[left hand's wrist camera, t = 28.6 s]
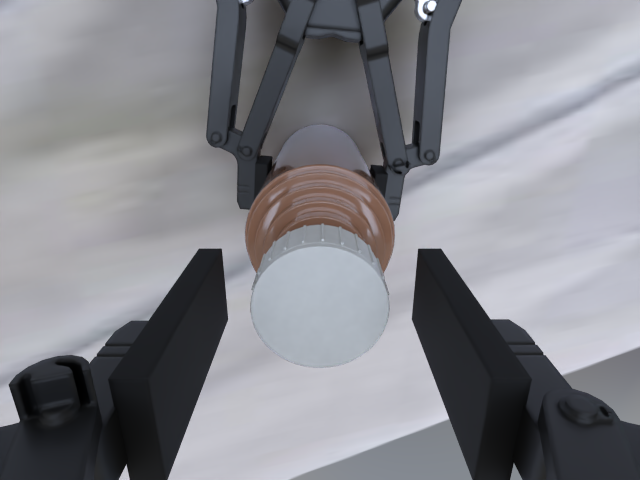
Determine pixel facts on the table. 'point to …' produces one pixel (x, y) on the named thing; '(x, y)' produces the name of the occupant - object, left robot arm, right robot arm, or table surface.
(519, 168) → the table surface
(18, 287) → the table surface
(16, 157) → the table surface
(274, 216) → the bottle
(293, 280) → the cap
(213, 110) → the right robot arm
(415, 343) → the table surface
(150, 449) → the left robot arm
